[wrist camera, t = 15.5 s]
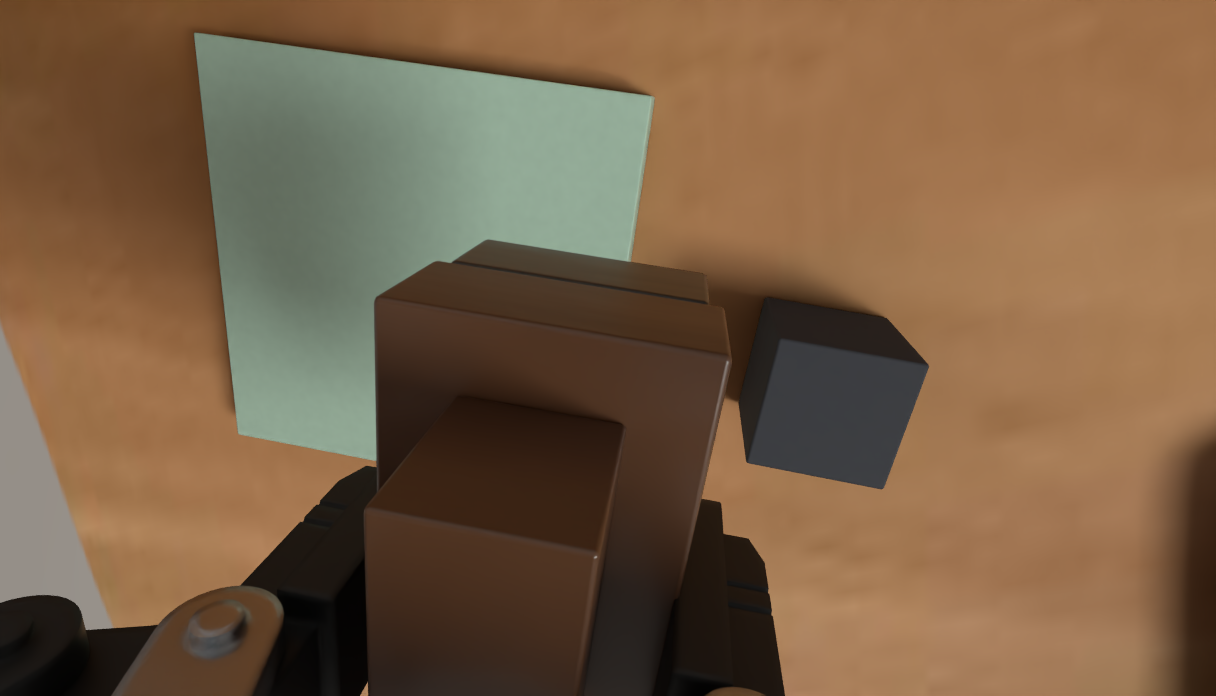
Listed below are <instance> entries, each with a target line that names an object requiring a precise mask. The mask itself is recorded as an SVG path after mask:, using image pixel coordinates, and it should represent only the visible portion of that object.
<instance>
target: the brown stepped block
mask: <svg viewBox="0 0 1216 696" xmlns="http://www.w3.org/2000/svg"><path fill="white" fill-rule="evenodd" d="M374 340H375V401H376V463H377V493H376V495H375V496H374V497H373V498H372V500H371V501H370V502H369V503H368V504H367V506H366V507H365V509H364V549H365V587H366V625H367V662H368V696H653V694H654V690H655V685H656V681H657V676H658V672H659V667H660V663H661V658H662V654H663V649H664V645H665V640H666V636H667V631H668V627H669V622H670V618H671V613H672V609H673V604H674V600H675V599H678V597H679V596H680V592H681V587H682V583H683V578H684V574H685V569H686V565H687V561H688V556H689V552H690V547H691V543H692V538H693V534H694V530H695V525H696V521H697V516H698V512H699V507H700V503H701V498H702V494H703V490H704V485H705V481H706V476H707V472H708V467H709V463H710V458H711V454H712V450H713V445H714V441H715V436H716V432H717V427H718V423H719V418H720V414H721V410H722V405H723V401H724V396H725V392H726V387H727V383H728V378H729V374H730V370H731V365H732V356H731V349H730V343H729V336H728V330H727V323H726V317H725V311H724V309H723V308H721V307H719V306H713V305H709V294H708V282H707V276H706V275H705V274H703V273H697V272H691V271H685V270H678V269H672V268H666V267H660V266H653V265H647V264H641V263H634V262H628V261H622V260H615V259H609V258H603V257H597V256H590V255H584V254H578V253H571V252H565V251H559V250H553V249H546V248H540V247H534V246H527V245H521V244H515V243H509V242H502V241H496V240H490V239H487V240H484V241H482V242H481V243H479V244H478V245H476V246H475V247H473V248H472V249H470V250H469V251H467V252H466V253H464V254H463V255H461V256H459V257H458V258H456V259H455V260H453V261H452V263H448V262H442V261H435V262H432V263H431V264H429V265H427V266H426V267H424V268H422V269H421V270H419V271H417V272H416V273H414V274H413V275H411V276H409V277H408V278H406V279H404V280H403V281H401V282H399V283H398V284H396V285H394V286H393V287H391V288H389V289H388V290H386V291H385V292H383V293H381V294H380V295H378V296H376V298H375V301H374Z"/></svg>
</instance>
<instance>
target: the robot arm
mask: <svg viewBox="0 0 1216 696" xmlns="http://www.w3.org/2000/svg"><path fill="white" fill-rule="evenodd" d="M376 493H377V468H376V467H370V466H365V467H364V468H362V469H360V470H358V471H356V472H354V473H352V474H351V475H349V476H347V477H345V478H343V479H341V480H339V481H338V482H337V483H336V484H335V486H334V487H333V488H332V489H331V490H330V491H329V492H328V493H327V494H326V495H325V496H324V497H323V498H322V499H321V500H320V504H319V505H316V506H315V507H314V508H313V509H312V510H311V511H310V512H309V513H308V514H307V515H306V516H305V517H304V521H303V522H300V523H299V524H298V525H297V526H296V527H295V528H294V529H293V530H292V531H291V532H290V533H289V534H288V535H287V536H286V538H285V539H284V540H283V541H282V542H281V543H280V544H279V545H278V546H277V547H276V548H275V549H274V550H273V551H272V552H271V553H270V555H269V556H268V557H267V558H266V559H265V560H264V561H263V562H262V563H261V564H260V565H259V566H258V567H257V568H256V569H255V570H254V572H253V573H252V574H251V575H250V576H249V577H248V578H247V579H246V580H245V581H244V582H243V583H242V584H241V585H240V586H231V587H225V588H220V589H216V590H212V591H209V592H206V593H204V594H201V595H198V596H196V597H194V598H192V599H190V600H188V601H186V602H185V603H183V604H182V605H180V606H178V607H177V608H176V609H174V610H173V611H172V612H170V613H169V614H168V615H167V616H166V617H165V618H164V619H163V620H162V621H161V622H160V623H159V625H153V626H140V627H126V628H111V629H97V630H86V629H85V625H84V622H83V618H82V614H81V611H80V609H79V607H78V606H77V605H76V604H75V603H74V602H72V601H70V600H69V599H67V598H63V597H59V596H51V595H36V596H28V597H22V598H17V599H12V600H8V601H5V602H2V603H0V696H360V694H361V693H362V691H363V689H364V687H365V686H366V684H367V682H368V662H367V625H366V587H365V549H364V509H365V507H366V506H367V504H368V503H369V502H370V501H371V500H372V498H373V497H374V496H375V495H376ZM771 612H772V608H771V602H770V595H769V594H768V582H767V576H766V569H765V563H764V561H763V560H762V558H761V557H760V555H759V554H758V552H757V551H756V549H755V548H754V546H753V545H752V543H751V542H750V540H749V539H747V538H742V537H737V536H731V535H726V534H723V522H722V508H721V503H720V502H716V501H711V500H705V499H701V503H700V507H699V512H698V516H697V521H696V525H695V530H694V534H693V538H692V543H691V547H690V552H689V556H688V561H687V565H686V569H685V574H684V578H683V583H682V587H681V592H680V596H679V597H678V599H675V600H674V604H673V609H672V613H671V618H670V622H669V627H668V631H667V636H666V640H665V645H664V649H663V654H662V658H661V663H660V667H659V672H658V676H657V681H656V685H655V690H654V694H653V696H785V693H784V686H783V680H782V673H781V667H780V660H779V654H778V647H777V641H776V634H775V628H774V621H773V616H771Z"/></svg>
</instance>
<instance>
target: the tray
mask: <svg viewBox="0 0 1216 696" xmlns="http://www.w3.org/2000/svg"><path fill="white" fill-rule="evenodd" d="M194 39H195V48H196V58H197V67H198V76H199V85H200V94H201V103H202V112H203V121H204V130H205V139H206V148H207V157H208V166H209V175H210V184H211V193H212V202H213V211H214V220H215V229H216V239H217V248H218V257H219V266H220V275H221V284H222V293H223V302H224V311H225V320H226V329H227V338H228V347H229V356H230V365H231V374H232V383H233V392H234V401H235V410H236V420H237V429H238V434H240V435H245V436H251V437H256V438H261V439H266V440H271V441H276V442H281V443H287V444H292V445H297V446H302V447H307V448H312V449H317V450H322V451H328V452H333V453H338V454H343V455H348V456H353V457H358V458H364V459H369V460H374V461H376V401H375V340H374V301H375V298H376V296H378V295H380V294H381V293H383V292H385V291H386V290H388V289H389V288H391V287H393V286H394V285H396V284H398V283H399V282H401V281H403V280H404V279H406V278H408V277H409V276H411V275H413V274H414V273H416V272H417V271H419V270H421V269H422V268H424V267H426V266H427V265H429V264H431V263H432V262H435V261H442V262H448V263H452V261H453V260H455V259H456V258H458V257H459V256H461V255H463V254H464V253H466V252H467V251H469V250H470V249H472V248H473V247H475V246H476V245H478V244H479V243H481V242H482V241H484V240H487V239H490V240H496V241H502V242H509V243H515V244H521V245H527V246H534V247H540V248H546V249H553V250H559V251H565V252H571V253H578V254H584V255H590V256H597V257H603V258H609V259H615V260H622V261H628V262H631V257H632V250H633V243H634V236H635V230H636V223H637V216H638V209H639V202H640V196H641V189H642V182H643V175H644V168H645V162H646V155H647V148H648V141H649V134H650V128H651V121H652V114H653V107H654V100H655V98H654V97H653V96H648V95H641V94H634V93H627V92H620V91H613V90H605V89H598V88H591V87H584V86H577V85H570V84H562V83H555V82H548V81H541V80H534V79H527V78H519V77H512V76H505V75H498V74H491V73H483V72H476V71H469V70H462V69H455V68H448V67H440V66H433V65H426V64H419V63H412V62H405V61H397V60H390V59H383V58H376V57H369V56H362V55H354V54H347V53H340V52H333V51H326V50H318V49H311V48H304V47H297V46H290V45H283V44H275V43H268V42H261V41H254V40H247V39H240V38H232V37H225V36H218V35H211V34H204V33H197V32H196V33H194Z"/></svg>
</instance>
